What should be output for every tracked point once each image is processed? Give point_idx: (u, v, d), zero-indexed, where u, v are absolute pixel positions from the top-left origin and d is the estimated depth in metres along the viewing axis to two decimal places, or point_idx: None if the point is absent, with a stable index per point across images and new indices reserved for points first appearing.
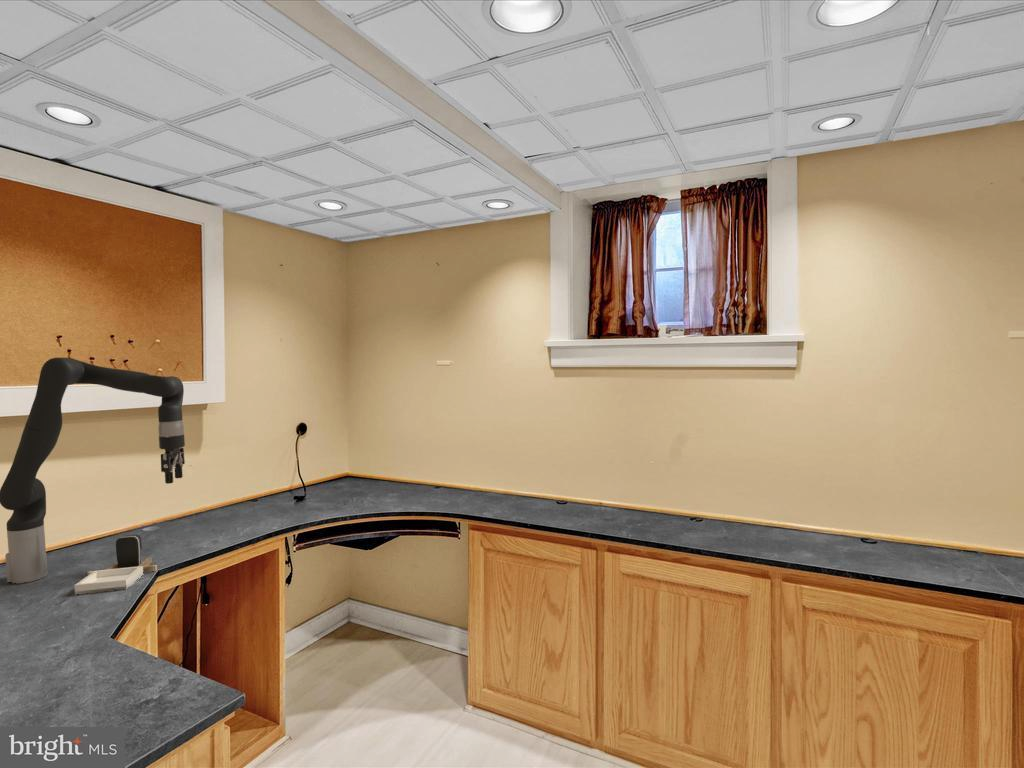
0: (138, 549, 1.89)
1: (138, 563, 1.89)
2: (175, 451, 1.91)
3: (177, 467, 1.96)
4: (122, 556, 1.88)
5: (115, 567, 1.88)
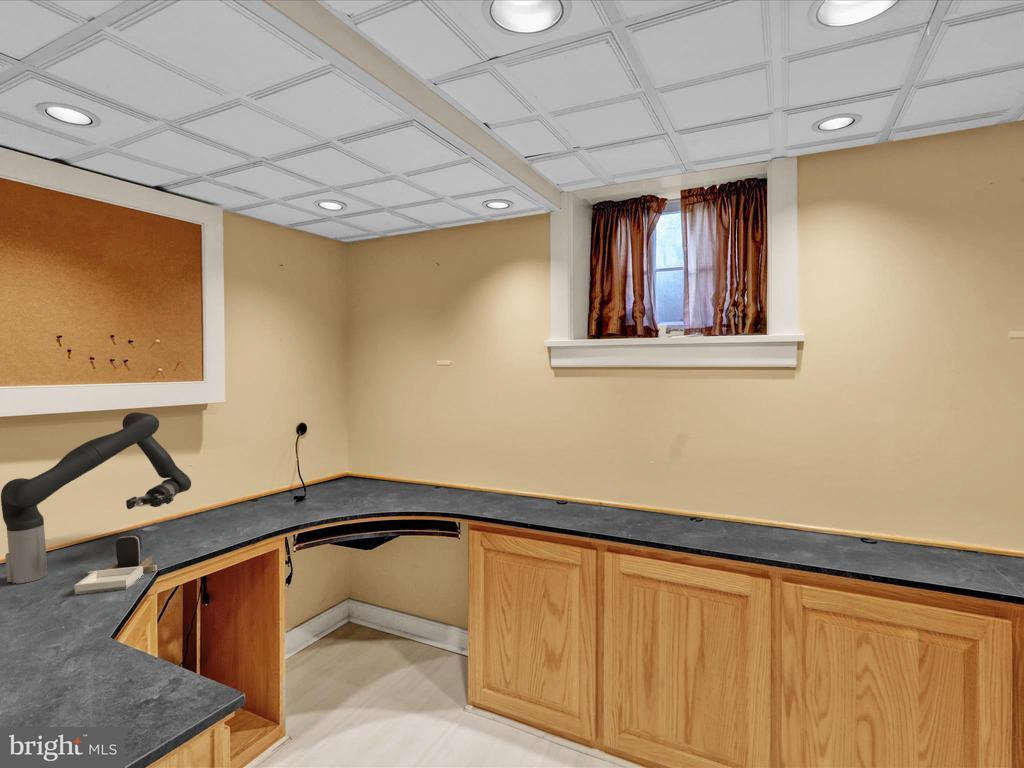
0: (138, 549, 1.89)
1: (138, 563, 1.89)
2: None
3: (134, 503, 2.03)
4: (122, 556, 1.88)
5: (115, 567, 1.88)
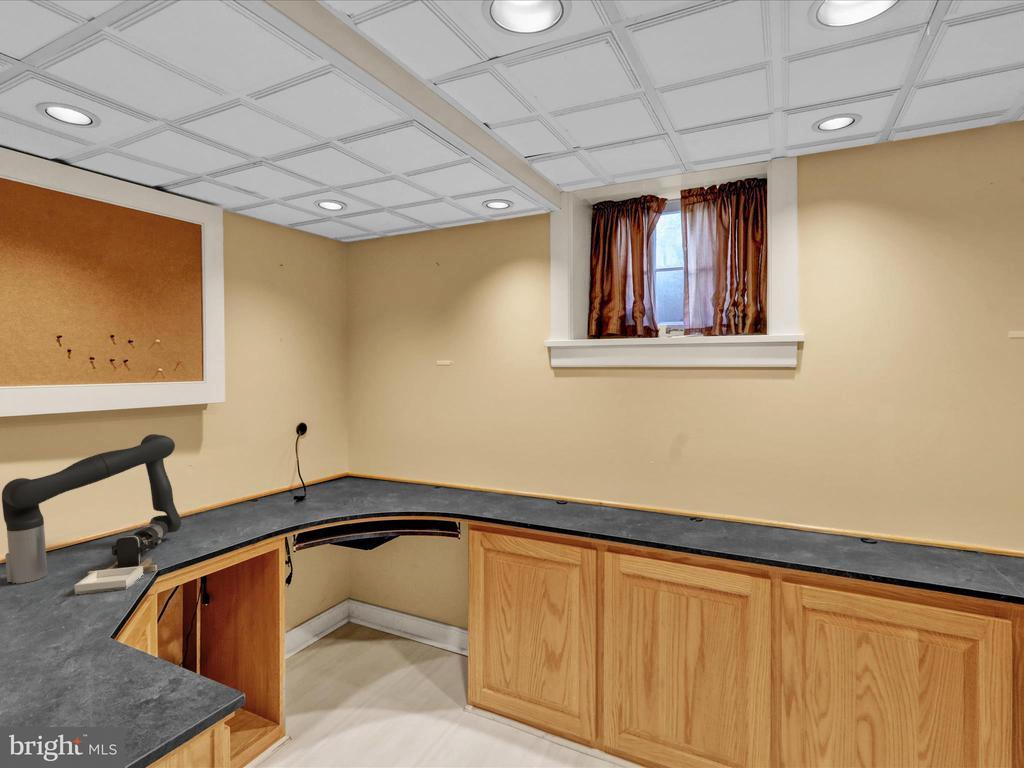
0: None
1: (138, 563, 1.89)
2: None
3: None
4: (122, 556, 1.88)
5: (115, 567, 1.88)
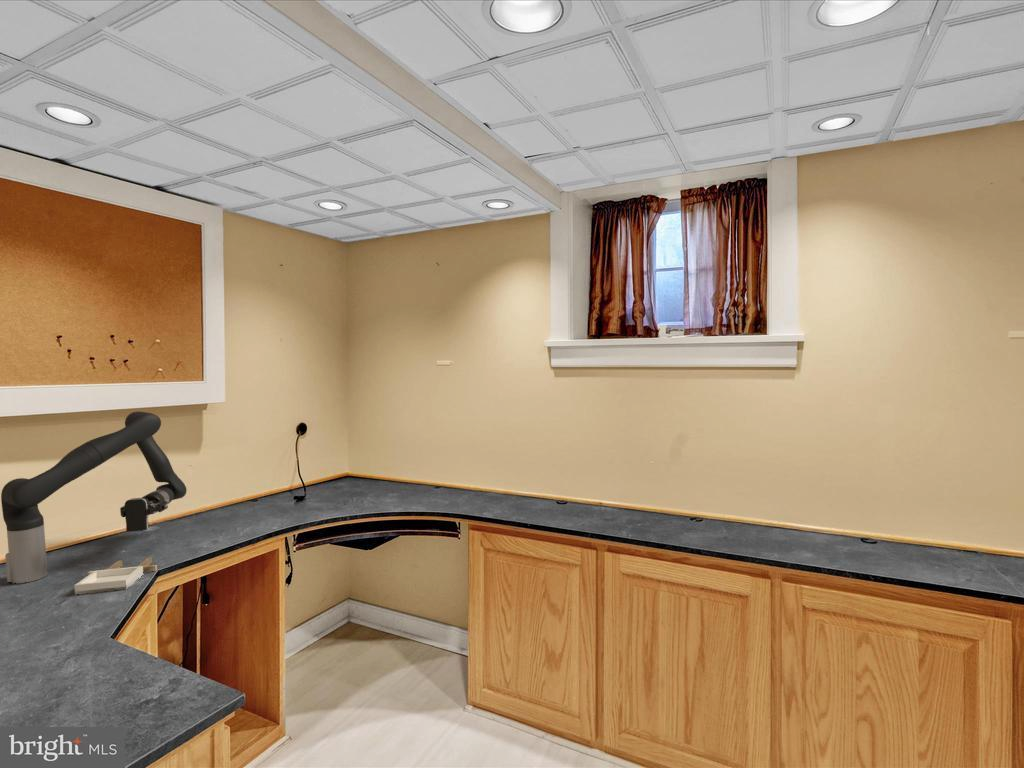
0: None
1: (146, 524, 1.96)
2: None
3: None
4: (131, 518, 1.95)
5: (115, 567, 1.88)
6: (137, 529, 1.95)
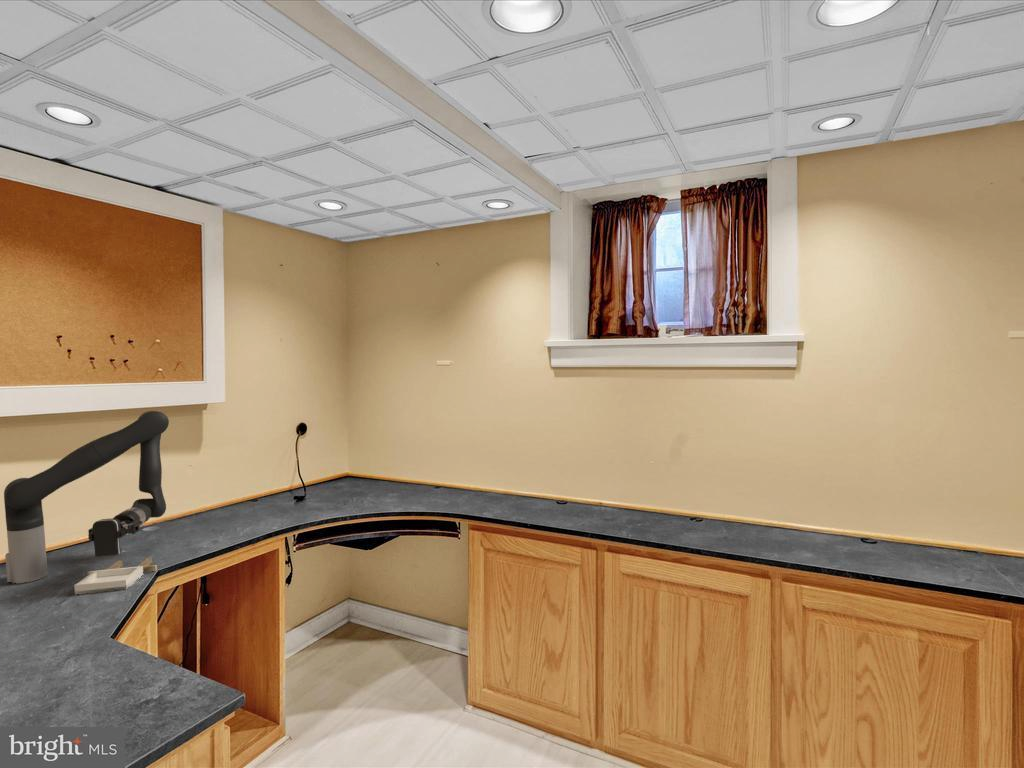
0: None
1: (117, 548, 1.75)
2: None
3: None
4: (100, 541, 1.74)
5: (115, 567, 1.88)
6: (107, 554, 1.74)
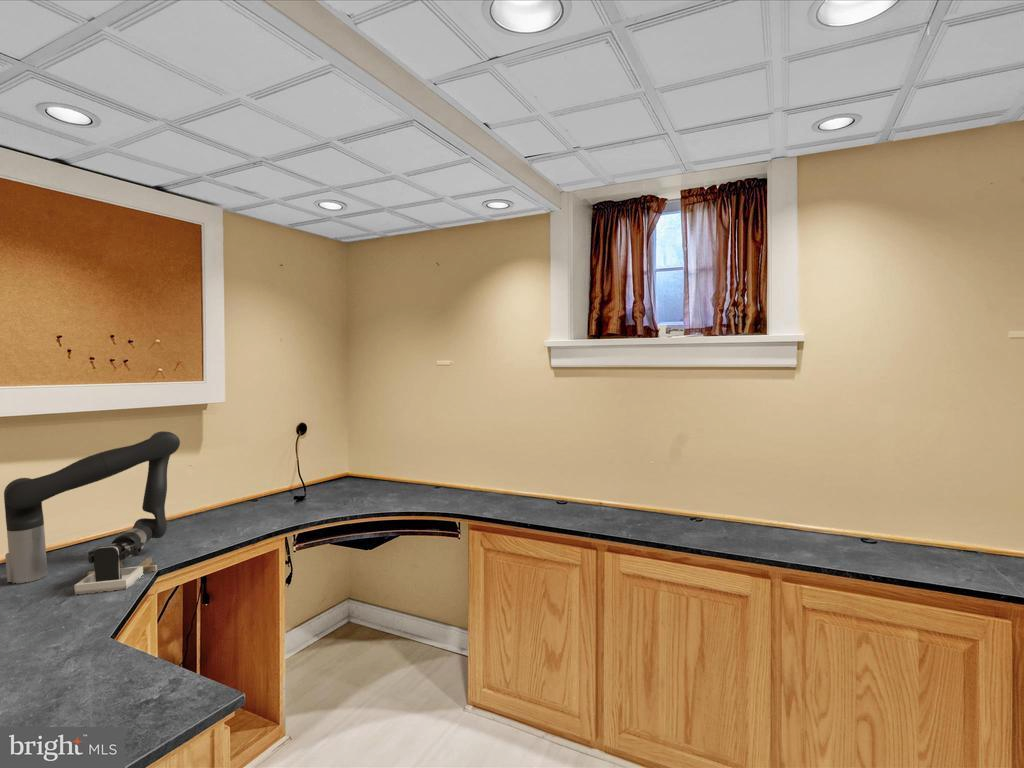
0: (118, 560, 1.75)
1: (118, 575, 1.75)
2: None
3: None
4: (101, 568, 1.74)
5: None
6: None
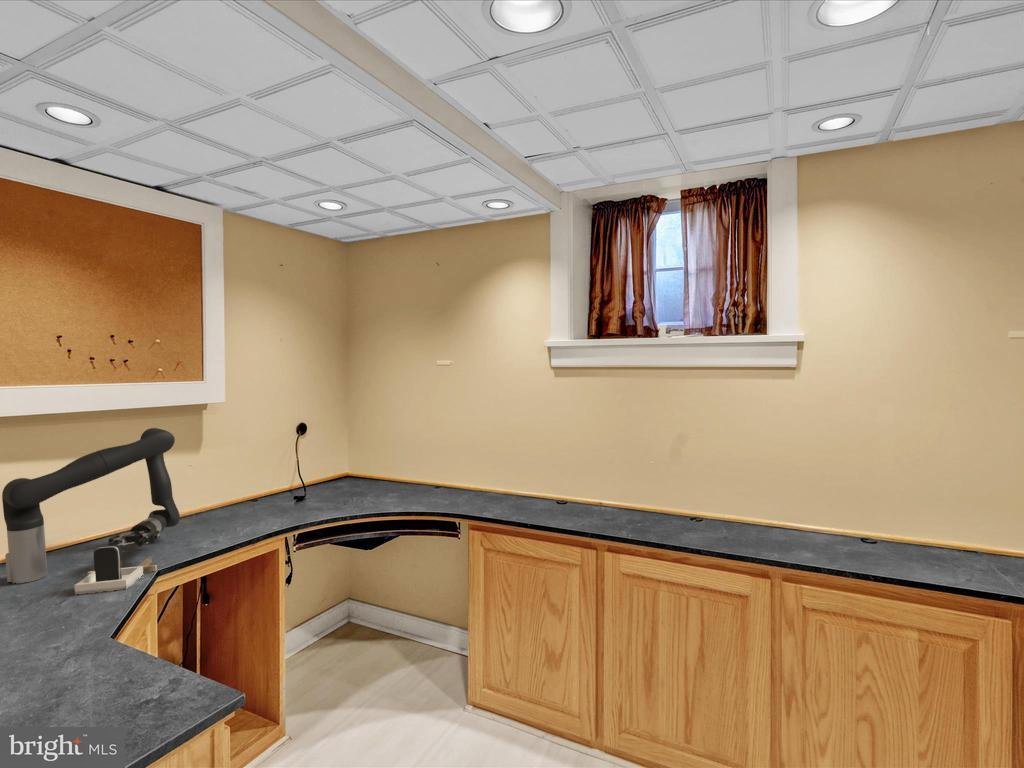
0: (118, 560, 1.75)
1: (118, 575, 1.75)
2: None
3: (117, 542, 1.89)
4: (101, 568, 1.74)
5: None
6: None
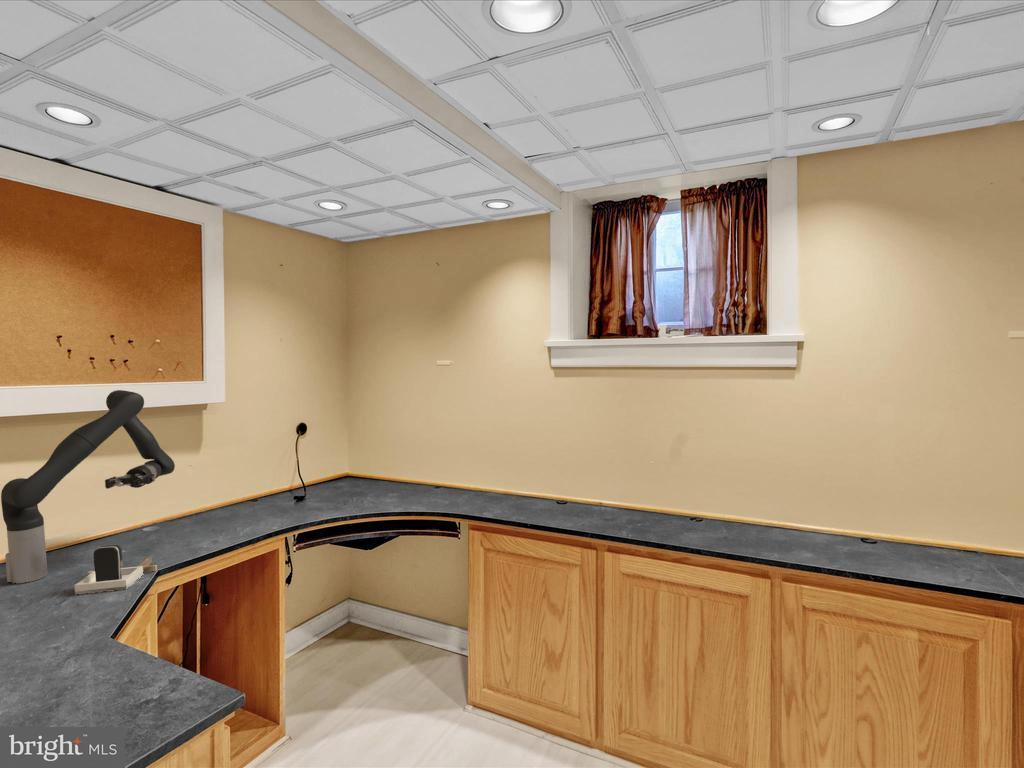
0: (118, 560, 1.75)
1: (118, 575, 1.75)
2: None
3: (113, 482, 1.97)
4: (101, 568, 1.74)
5: None
6: None
